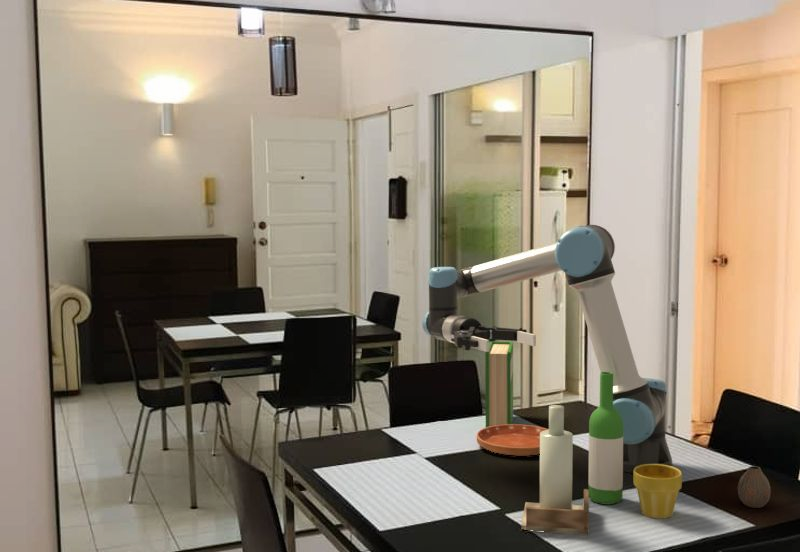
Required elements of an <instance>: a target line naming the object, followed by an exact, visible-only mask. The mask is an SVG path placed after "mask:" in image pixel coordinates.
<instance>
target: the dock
mask: <svg viewBox="0 0 800 552" xmlns="http://www.w3.org/2000/svg"><path fill="white" fill-rule="evenodd" d="M588 491H589V488H588V489H587V488H584V489H583V505H578V504H572V509H558V508H540V502H531V501H530V502H527V501H525V503H524V510H523V514H522V520H521V530H522V529H524V530H533V531H544V532H543V533H547V532H552V534H563V533H565V535H567V534H568V535H582V536H589V535H590V497H589V492H588Z"/></svg>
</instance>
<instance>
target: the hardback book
mask: <svg viewBox="0 0 800 552" xmlns="http://www.w3.org/2000/svg"><path fill="white" fill-rule="evenodd" d="M484 353H485V354H484V356H485V357H484V358H485V363H484V365H485V367H484V368H485V369H484V370H485V371H484V372H485V374H484V375H485V379H484V380H485V382H484V383H485V385H484V386H485V428H486V427H490V426H495V425H505V424H513V420H514V419H513V418H514V341H494V342H489V352H485V351H484ZM512 419H513V420H512Z"/></svg>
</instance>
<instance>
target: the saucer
mask: <svg viewBox="0 0 800 552" xmlns="http://www.w3.org/2000/svg"><path fill="white" fill-rule="evenodd" d="M545 430H549V428H546V427H542V426H539V425H538V426H537V425H531V424H519V423H518V424H516V423H512V424H505V425H495V426H490V427H486V426H485V427H483V428H482V429H479V430H478V431H477V433H476V443H477V444H478V445H479V446H480V447H483V448H484V449H485V450H487V451H488V450H489V451H488V452H490V451H491V452H490V453H493V452H494V454H496V453H499V454H498V455H500V454H505V455H516V456H527V457H530V456H529V455H537V454H540V432H542V431H545ZM505 455H504V456H505ZM516 456H515V457H516ZM537 456H538V455H537Z"/></svg>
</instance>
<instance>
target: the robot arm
mask: <svg viewBox="0 0 800 552" xmlns="http://www.w3.org/2000/svg"><path fill="white" fill-rule="evenodd" d="M615 250H616V245H615V240H614V238H613V236H612V234H611V233H610V232H609V231H608V230H607V229H606V228H604V227H603V226H600V225H597V224H587V225H579V226H574V227H573V228H569V229H568V230H567V231H565V232H563V234H561V236H559V239H558V240H557V242H552V243H549V244H546V245H543V246H539V247H535V248H533V249H529V250H525V251H522V252H518V253H515V254H511V255H508V256H505V257H501V258H497V259H494V260H491V261H487V262H483V263H479V264H477V265H472V266H469V267H466V268H462V269H458V270H457V269H456V268H455V267H453V266H436V267H431V268H430V270H429V272H428V273H429V274H428V283H427V284H428V300H429V301H428V305H429V307H428V311H427V312H426V313H425V314H424V316H423V319H422V323H421V325H422V330H423V331H424V332H425V333H424V334H426V335H427V336H429V337H432V338H433V339H436V340H437V341H439V340H441V341H444V342H447V343H452V344H454V346H456V348H459V349H460V348H461V349H462V348H463V347H464V350H465V351H470V350H471V349H474V350H477V351H478V350H479V351H482V352H484V353H485V352H489V342H496V341H507V342H517V343H519V344H523V345H527V346H531V347H536V346H537V334H534V333H530V332H528V331H527V329H523V327H520V328H519V329H518V328H509V327H508V328H507V327H499V326H496V325H495V326H492V327H490V326H489V327H488V326H486V325H482V324H481V322H480V321H479V320H478V319H476V318H473V317H469V316H465V315H460V314H458V300H460V299H462V298H465V297H469V296H472V295H475V294H476V295H477V294H479V293H484V292H487V291H490V290H493V289H499V288H502V287H506V286H508V285H513V284H517V283H520V282H525V281H527V280H531V279H535V278H540V277H543V276H546V275H551V274H554V273H558V272H562V271H563V273H564V274H565V277H566V281H567V284H568V287H569V288H571V289H573V290H574V291H576V294H577V296H578V299H579V303H580V306H581V310H582V313H583V317H584V321H585V323H586V326H587V330H588V334H589V337H590V340H591V343H592V348H593V351H594V353H595V357H596V360H597V365H598V367H599V371H600V373H601V372H611V373H613V407H614V408H615V409H616V410H617V411H618V412H619V413H620V415H621V417H622V420H623V472H627V473H631V474H633V470H634V468H635V467H637V466H640V465H644V464H662V465H668V466H672V467H673V458H672V455H671V452H670V448H669V445H668V443H667V438H666V430H667V429H666V426H667V423H666V421H667V394H668V391H667V384H666V383H665V381H664V380H661V379H657V378H649V377H642V376H641V375H640V374H639V371H638V368H637V365H636V361H635V358H634V355H633V352H632V348H631V344H630V342H629V341H630V340H629V338H628V334H627V331H626V327H625V324H624V321H623V318H622V315H621V311H620V307H619V304H618V301H617V297H616V293H615V291H614V287H613V284H612V280H613V279H614V277H615V275H616V272H615V268H614V265H613V262H612V259H613V257H614V254H615ZM490 337H491V338H490Z"/></svg>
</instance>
